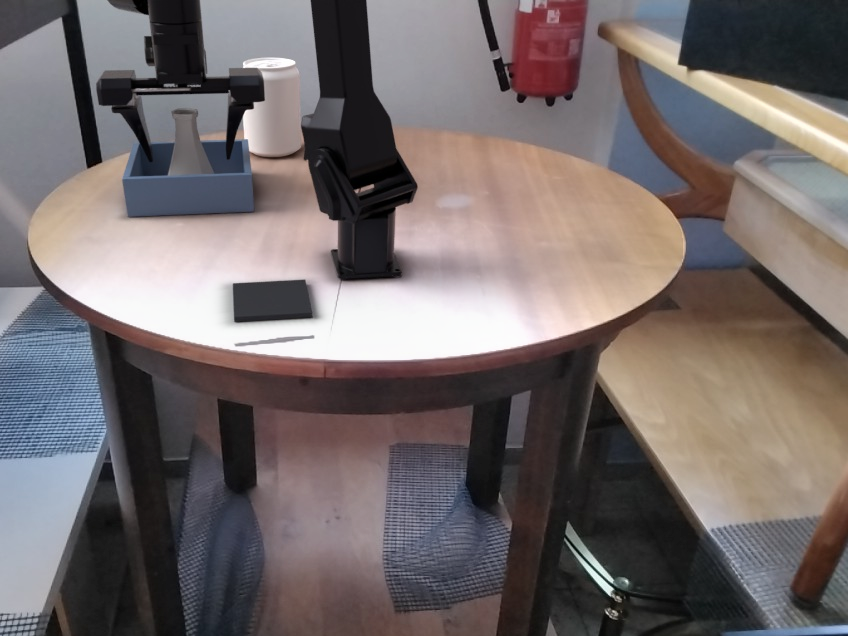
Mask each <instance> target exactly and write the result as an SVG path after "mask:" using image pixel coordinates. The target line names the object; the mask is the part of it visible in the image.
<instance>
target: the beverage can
mask: <svg viewBox="0 0 848 636" xmlns="http://www.w3.org/2000/svg"><path fill="white" fill-rule="evenodd" d="M296 64H297V63H296V61H295V60H293V59H290V58H284V57H259V58H258V57H256V58H249V59H247V60H245V61H242V65H243V66H242V68H258V69H259V70H260V71H261V72H262V75H263V79H264V92H265V101H262V102H254V109H252V110H246V111H245V113H244V115H243V118H242V123H243V125H242V126H243V137H244V138H243V139H248V145H249V153H252V154H254V155H255V156H258V157H264V158H281V157H286V156H290V155H293V154H294V153H295V152H297V151H299V150H301V148H302V129H301V121H302V117H301V81H300V80H301V79H300V78H301V77H300V76H301V75H300V71H299V69H298V67H297V66H296Z"/></svg>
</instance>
